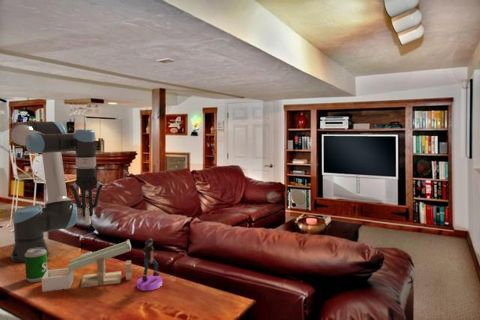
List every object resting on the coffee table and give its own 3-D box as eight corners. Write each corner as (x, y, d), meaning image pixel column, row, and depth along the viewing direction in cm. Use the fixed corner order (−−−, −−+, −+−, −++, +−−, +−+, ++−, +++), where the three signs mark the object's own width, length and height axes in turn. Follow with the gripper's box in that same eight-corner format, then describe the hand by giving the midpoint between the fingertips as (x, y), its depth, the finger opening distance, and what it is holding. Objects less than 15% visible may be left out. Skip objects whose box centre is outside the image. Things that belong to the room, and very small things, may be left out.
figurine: (167, 282, 138) (166, 236, 136) (151, 292, 129) (150, 244, 128) (148, 278, 142) (146, 233, 140) (131, 287, 133) (130, 240, 132)
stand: (84, 278, 141) (83, 251, 140) (131, 273, 146) (130, 247, 145) (80, 287, 133) (79, 259, 132) (131, 281, 138) (130, 254, 137)
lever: (75, 258, 147) (73, 252, 146) (131, 239, 152) (129, 233, 152) (69, 271, 133) (66, 264, 132) (130, 250, 138) (128, 243, 138)
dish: (47, 282, 138) (47, 270, 137) (73, 279, 140) (73, 267, 140) (42, 291, 130) (41, 278, 130) (69, 288, 132) (69, 275, 132)
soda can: (38, 284, 137) (36, 253, 136) (21, 282, 138) (19, 252, 137) (52, 276, 144) (50, 247, 143) (36, 274, 146) (34, 246, 145)
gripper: (66, 168, 139) (69, 227, 142) (102, 168, 143) (103, 225, 145) (70, 166, 147) (72, 222, 149) (104, 166, 150) (105, 220, 152)
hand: (88, 223), depth 147 cm, fingers closed
